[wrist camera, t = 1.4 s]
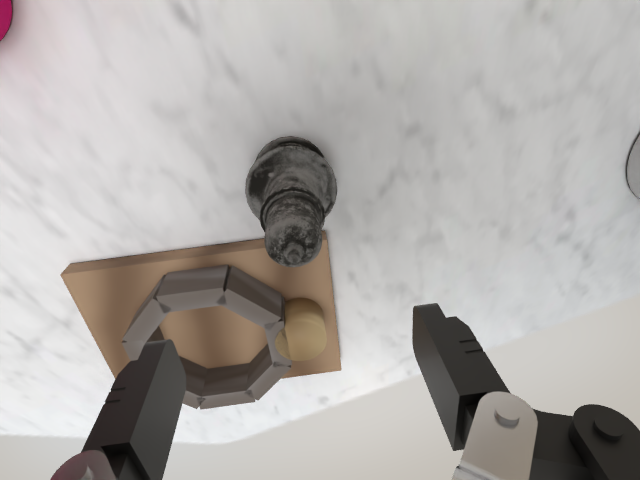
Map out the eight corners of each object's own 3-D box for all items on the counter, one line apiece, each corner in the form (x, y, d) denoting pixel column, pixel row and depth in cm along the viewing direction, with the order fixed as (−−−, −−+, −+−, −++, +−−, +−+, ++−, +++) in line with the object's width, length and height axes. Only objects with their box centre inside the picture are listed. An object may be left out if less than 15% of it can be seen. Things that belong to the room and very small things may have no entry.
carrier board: (325, 230, 30) (331, 260, 26) (339, 358, 37) (345, 397, 33) (70, 263, 30) (37, 299, 26) (132, 386, 37) (113, 429, 33)
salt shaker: (339, 199, 29) (369, 296, 19) (264, 218, 29) (252, 324, 19) (321, 122, 26) (344, 186, 16) (238, 144, 27) (207, 221, 16)
